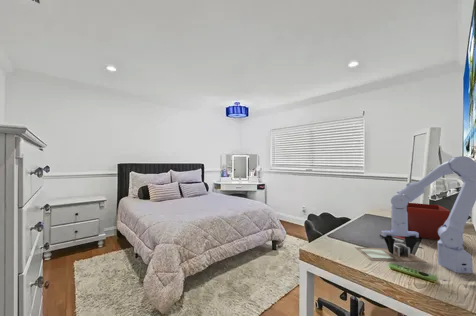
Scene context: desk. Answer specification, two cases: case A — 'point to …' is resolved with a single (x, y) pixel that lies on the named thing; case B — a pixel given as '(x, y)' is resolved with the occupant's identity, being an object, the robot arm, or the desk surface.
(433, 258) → the desk surface
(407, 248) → the c link
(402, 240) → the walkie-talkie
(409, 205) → the plant pot
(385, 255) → the stand
